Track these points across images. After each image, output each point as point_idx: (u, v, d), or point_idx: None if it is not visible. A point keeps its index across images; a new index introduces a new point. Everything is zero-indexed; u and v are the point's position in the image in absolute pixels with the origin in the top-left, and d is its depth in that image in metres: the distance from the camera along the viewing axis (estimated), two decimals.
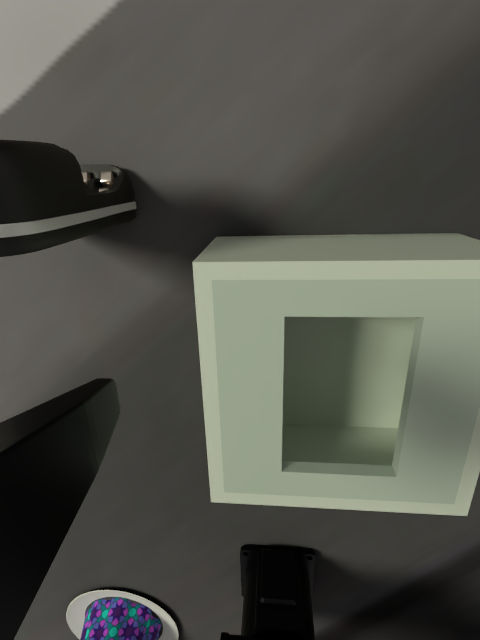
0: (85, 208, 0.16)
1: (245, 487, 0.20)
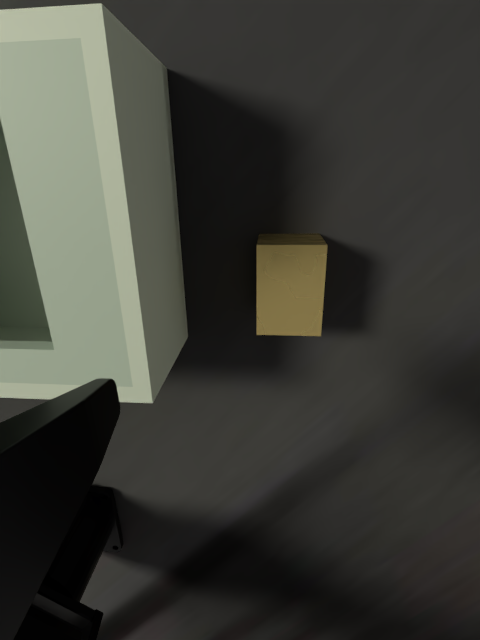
0: None
1: None
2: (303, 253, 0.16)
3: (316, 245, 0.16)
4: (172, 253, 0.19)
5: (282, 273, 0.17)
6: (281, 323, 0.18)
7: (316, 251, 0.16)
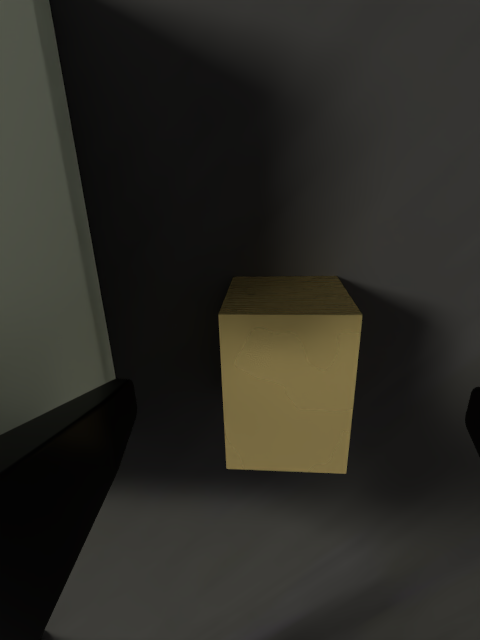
0: None
1: None
2: (313, 331, 0.08)
3: (339, 315, 0.08)
4: (73, 318, 0.10)
5: (272, 366, 0.09)
6: (272, 451, 0.10)
7: (339, 327, 0.08)
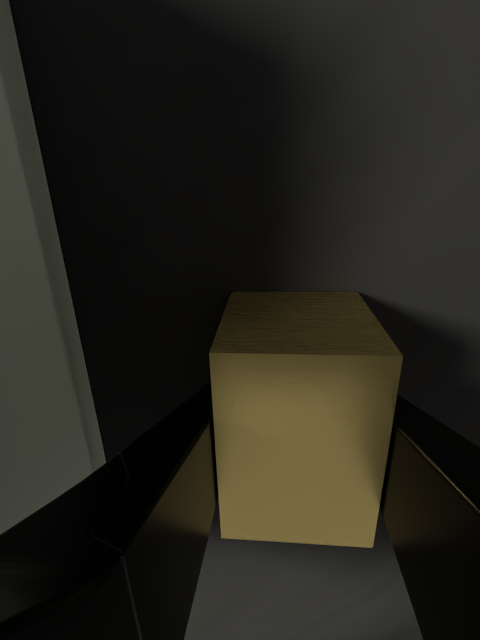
0: None
1: None
2: (336, 376, 0.06)
3: (371, 355, 0.06)
4: (35, 344, 0.08)
5: (280, 418, 0.07)
6: (278, 520, 0.07)
7: (371, 371, 0.06)
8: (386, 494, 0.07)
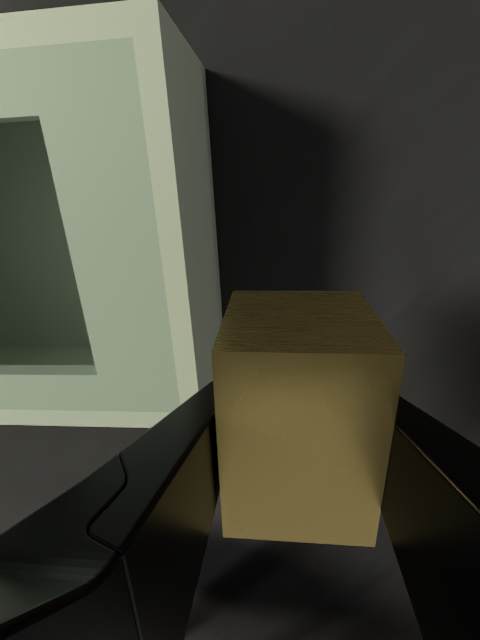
0: None
1: None
2: (338, 374, 0.06)
3: (373, 354, 0.06)
4: (212, 265, 0.17)
5: (282, 417, 0.07)
6: (280, 519, 0.07)
7: (373, 369, 0.06)
8: (386, 494, 0.07)
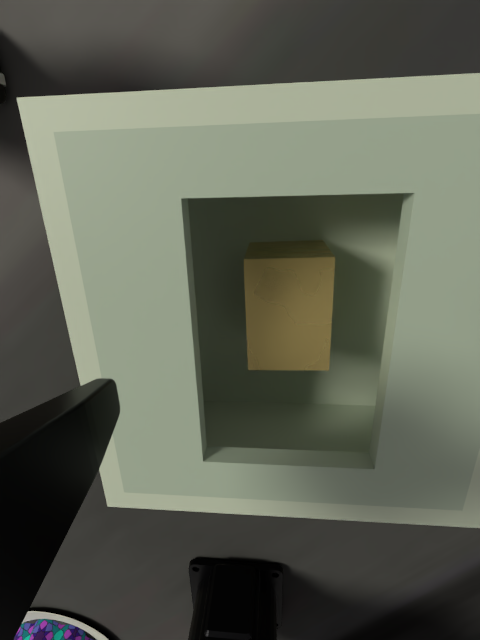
0: None
1: (153, 485, 0.14)
2: (304, 269, 0.13)
3: (320, 258, 0.13)
4: None
5: (278, 293, 0.13)
6: (278, 356, 0.14)
7: (320, 265, 0.13)
8: None
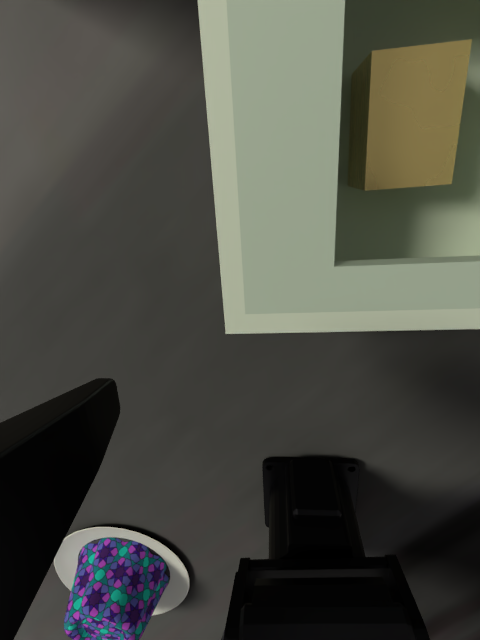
0: None
1: (277, 302, 0.13)
2: (437, 57, 0.12)
3: (455, 42, 0.12)
4: None
5: (405, 91, 0.13)
6: (399, 170, 0.14)
7: (455, 51, 0.12)
8: None
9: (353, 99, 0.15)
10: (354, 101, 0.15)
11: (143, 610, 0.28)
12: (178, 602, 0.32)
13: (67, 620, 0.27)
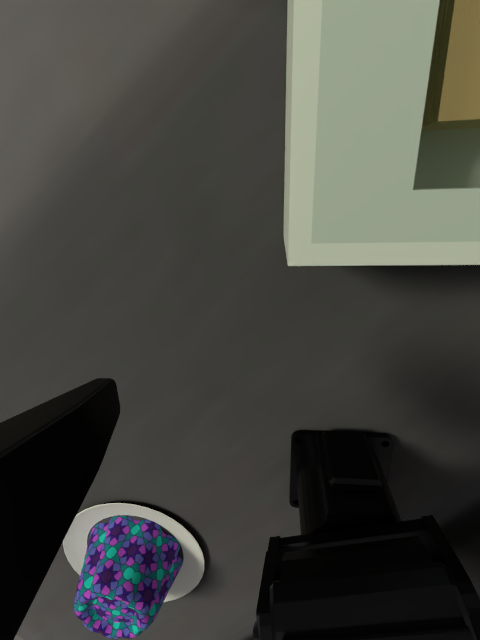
0: None
1: (347, 230, 0.12)
2: None
3: None
4: None
5: None
6: (476, 99, 0.13)
7: None
8: None
9: None
10: None
11: (157, 591, 0.27)
12: (193, 587, 0.31)
13: (77, 600, 0.26)
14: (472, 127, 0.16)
